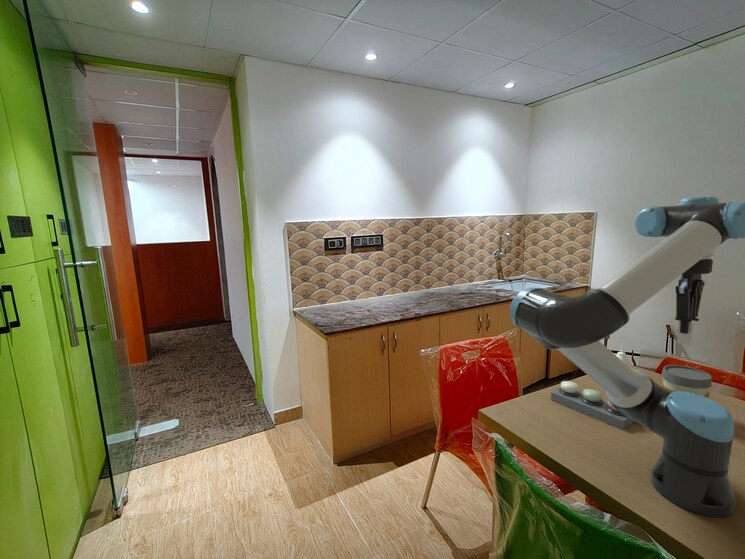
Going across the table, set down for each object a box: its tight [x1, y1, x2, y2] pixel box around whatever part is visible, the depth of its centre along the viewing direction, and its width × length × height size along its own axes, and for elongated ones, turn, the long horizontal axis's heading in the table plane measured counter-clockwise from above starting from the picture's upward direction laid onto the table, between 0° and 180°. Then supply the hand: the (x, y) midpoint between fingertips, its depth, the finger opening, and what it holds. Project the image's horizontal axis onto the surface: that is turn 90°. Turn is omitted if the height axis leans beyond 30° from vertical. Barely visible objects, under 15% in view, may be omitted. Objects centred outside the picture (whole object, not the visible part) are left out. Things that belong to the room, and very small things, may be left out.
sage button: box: [582, 388, 603, 402], centre depth 123 cm, size 6×6×2 cm
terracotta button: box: [607, 401, 617, 411], centre depth 116 cm, size 6×6×2 cm
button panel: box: [550, 387, 635, 430], centre depth 123 cm, size 10×24×4 cm, turn 32°
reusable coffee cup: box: [661, 364, 713, 398], centre depth 118 cm, size 13×13×15 cm
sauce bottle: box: [615, 346, 633, 369], centre depth 135 cm, size 8×8×18 cm
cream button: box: [560, 380, 579, 393], centre depth 130 cm, size 6×6×2 cm
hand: (684, 343), depth 95 cm, fingers closed
